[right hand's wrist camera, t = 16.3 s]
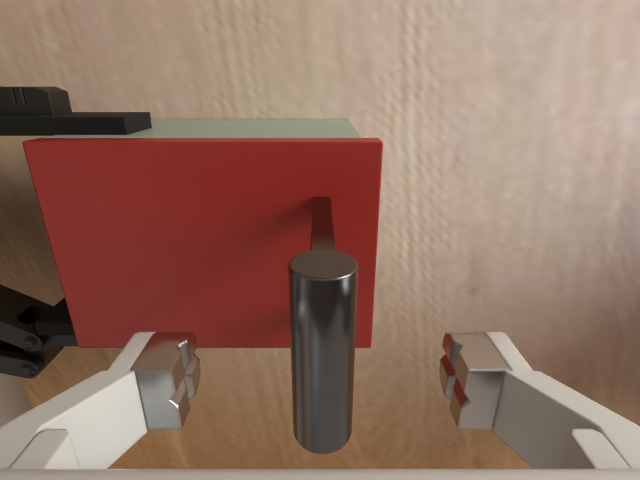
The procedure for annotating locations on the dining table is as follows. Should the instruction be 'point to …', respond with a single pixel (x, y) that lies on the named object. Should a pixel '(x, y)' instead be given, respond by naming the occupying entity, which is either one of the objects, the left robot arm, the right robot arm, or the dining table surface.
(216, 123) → the chest
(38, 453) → the right robot arm
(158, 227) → the lid
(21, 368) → the left robot arm
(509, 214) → the dining table surface
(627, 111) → the dining table surface
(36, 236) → the dining table surface
